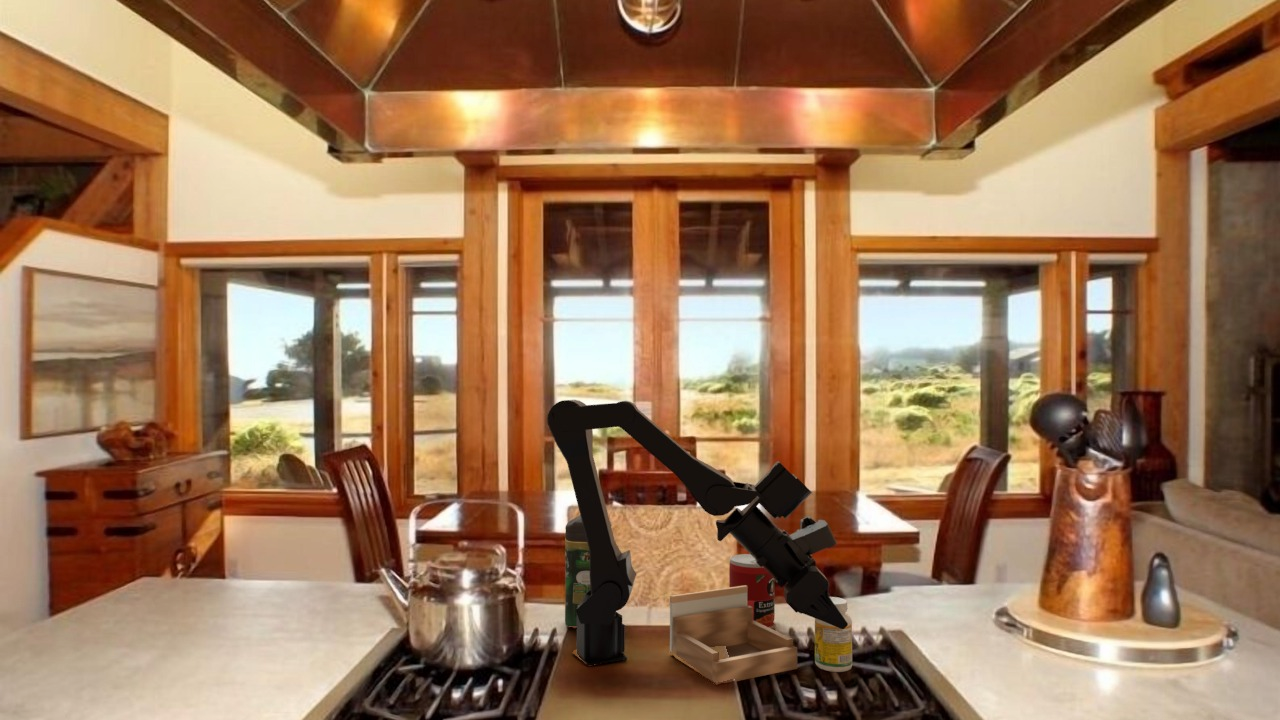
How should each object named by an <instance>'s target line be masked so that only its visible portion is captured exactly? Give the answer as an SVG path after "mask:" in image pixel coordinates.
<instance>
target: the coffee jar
mask: <svg viewBox="0 0 1280 720" xmlns="http://www.w3.org/2000/svg"><path fill="white" fill-rule="evenodd" d="M610 524H611V527H612V523H611V521H610ZM564 535H565V538H564V540H565V542H564V544H565V545H564V547H565V548H564V549H565V550H564V552H565V559H564V560H565V569H564V570H565V573H564V575H565V577H564V578H565V579H564V580H565V582H564V584H565V589H564V591H565V593H564V594H565V595H564V596H565V597H564V598H565V599H564V600H565V603H564V604H565V605H564V623H565V626H566V627H568V628H569V626H577V612H576V610H577V608H578V606H579V605H580V603H581V601H582V599H583V598H584V596H585V594H586V593H587V592H588V591H589V590H590V589H591V586H590V551H589V547H588V543H587V539H586V535H585V531H584V527H583V523H582V519H581V515H580V514H579V515H578V516H576V517H574V518H572V519H570V520H569V521H568V522H567V523H566V525H565V534H564Z"/></svg>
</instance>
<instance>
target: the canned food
mask: <svg viewBox="0 0 1280 720" xmlns="http://www.w3.org/2000/svg"><path fill="white" fill-rule="evenodd" d="M728 567H729V570H728V571H729V572H728V574H729V578H728V579H729V585H728V586H729V587H737V586H744V585H746V586H748V592H747V606H751V607H753V620H754V621H756V622H758V623H760V624H762V625H764V626H767V627H769V628H770V627H772V626H773V624H774V621H775V618H776V617H775V611H776V610H775V607H776V606H775V601H776V600H775V598H776V597H775V594H776V593H775V591H776V590H775V589H776V587H775V583H776V579H775V578H774V577H773V576H772V575H771V574H770V573H769V572H768V571H767V570H766V569H765V568H764V567H763V566H762V567H760V566H759V565H758V564H757V563H756V560H755V558H754V557H753V556H752V555H751V554H750V553H743V554H742V553H741V554H734V555H732V556H730V558H729V566H728ZM729 587H728V588H729Z"/></svg>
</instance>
